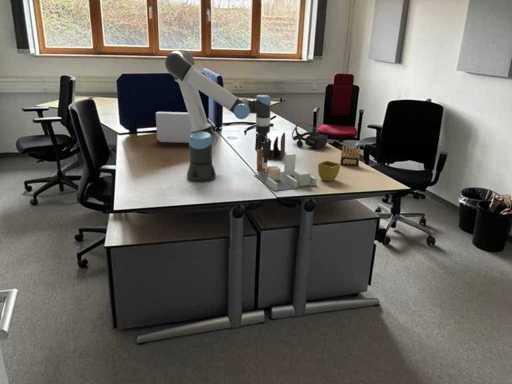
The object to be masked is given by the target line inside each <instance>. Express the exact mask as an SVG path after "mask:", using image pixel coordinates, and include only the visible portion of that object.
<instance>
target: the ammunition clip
mask: <svg viewBox="0 0 512 384" xmlns="http://www.w3.org/2000/svg"><path fill="white" fill-rule="evenodd" d="M360 149H361V148H360V146H358V148H357V146H355V147H354V146H353V145H352V147H351V145H349V147H348V145H346V146H345V145H342V148H341V153H340V163H339V164H341V165H340V166H344V167H346V166H347V167H357V168H358V167H359V164H360V155H361V154H360V153H361V152H360V151H361V150H360Z"/></svg>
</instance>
